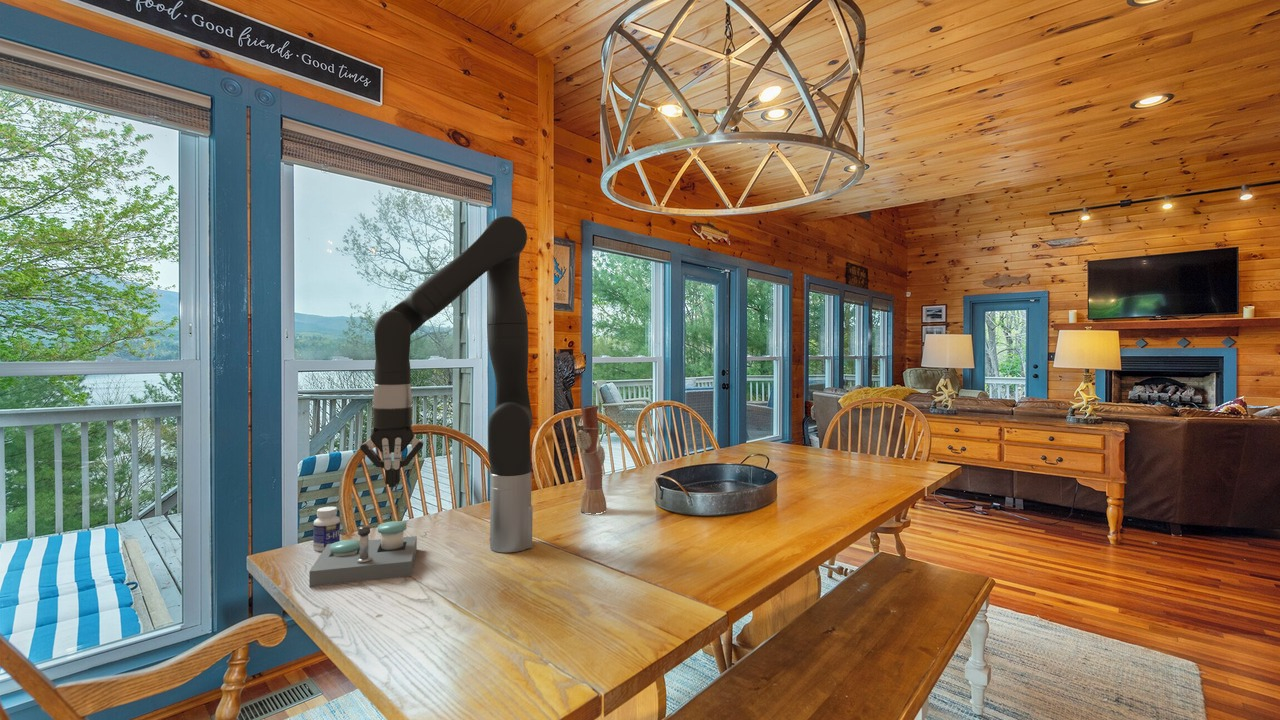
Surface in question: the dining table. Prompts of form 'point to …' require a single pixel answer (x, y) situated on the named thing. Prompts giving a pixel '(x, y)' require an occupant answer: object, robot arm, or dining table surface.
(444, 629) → the dining table surface
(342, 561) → the mount board
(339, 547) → the knob
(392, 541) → the knob
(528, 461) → the robot arm
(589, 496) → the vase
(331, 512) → the pill bottle
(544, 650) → the dining table surface
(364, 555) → the post
